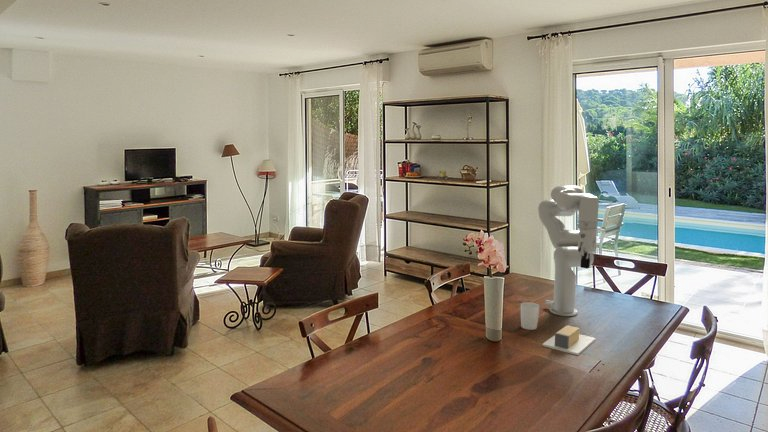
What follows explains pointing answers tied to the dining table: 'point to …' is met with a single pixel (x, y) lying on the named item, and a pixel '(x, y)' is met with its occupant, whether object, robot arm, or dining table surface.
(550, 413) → the dining table surface
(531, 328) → the white cup
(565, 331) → the ochre block
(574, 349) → the white board
